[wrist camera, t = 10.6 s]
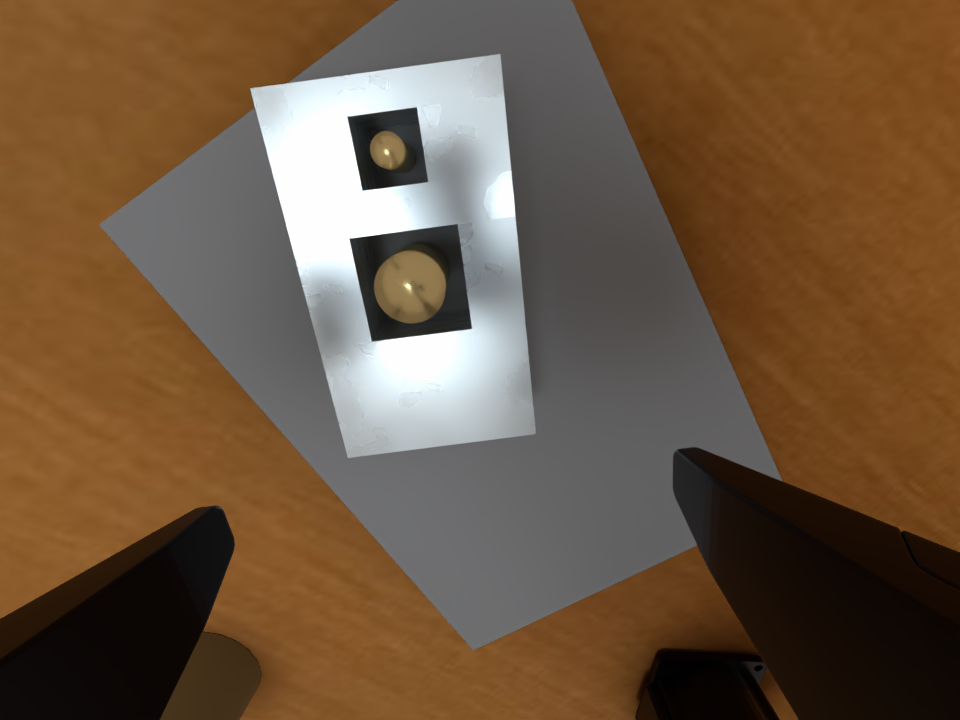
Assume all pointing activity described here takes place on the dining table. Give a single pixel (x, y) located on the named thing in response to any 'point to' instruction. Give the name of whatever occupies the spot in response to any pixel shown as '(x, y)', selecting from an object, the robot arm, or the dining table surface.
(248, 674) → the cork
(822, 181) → the dining table surface
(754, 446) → the mount board
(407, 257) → the pair of brass cylinders
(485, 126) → the silver rectangular block
